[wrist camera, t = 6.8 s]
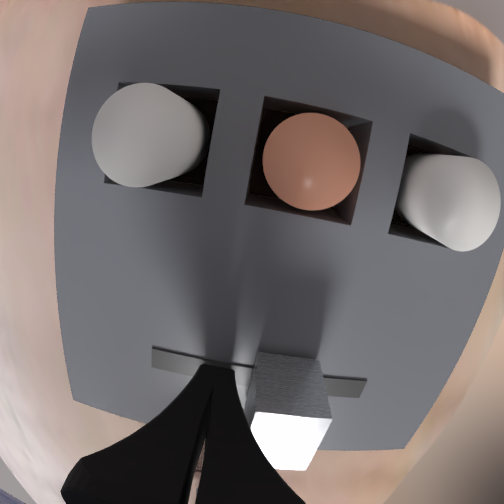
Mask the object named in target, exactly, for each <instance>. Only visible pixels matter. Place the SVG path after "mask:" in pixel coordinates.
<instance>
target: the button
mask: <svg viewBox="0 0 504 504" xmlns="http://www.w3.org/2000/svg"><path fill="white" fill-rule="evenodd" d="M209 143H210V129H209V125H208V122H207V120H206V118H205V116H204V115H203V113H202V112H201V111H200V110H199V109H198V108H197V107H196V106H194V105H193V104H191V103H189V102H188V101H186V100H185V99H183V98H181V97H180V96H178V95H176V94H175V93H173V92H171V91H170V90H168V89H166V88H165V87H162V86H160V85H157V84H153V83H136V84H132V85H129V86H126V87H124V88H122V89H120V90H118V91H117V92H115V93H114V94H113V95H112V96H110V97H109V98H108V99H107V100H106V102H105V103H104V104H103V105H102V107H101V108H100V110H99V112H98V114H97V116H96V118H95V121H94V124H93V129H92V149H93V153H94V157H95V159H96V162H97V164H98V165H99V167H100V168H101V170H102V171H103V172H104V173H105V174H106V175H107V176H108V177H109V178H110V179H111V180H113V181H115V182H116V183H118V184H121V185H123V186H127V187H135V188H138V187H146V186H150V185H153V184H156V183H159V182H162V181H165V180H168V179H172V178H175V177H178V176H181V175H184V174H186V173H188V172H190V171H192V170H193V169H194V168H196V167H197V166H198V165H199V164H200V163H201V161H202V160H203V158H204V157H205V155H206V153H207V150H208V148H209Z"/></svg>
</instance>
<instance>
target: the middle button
mask: <svg viewBox="0 0 504 504" xmlns="http://www.w3.org/2000/svg"><path fill="white" fill-rule="evenodd" d="M263 169H264V173H265V177H266V179H267V182H268V184H269V185H270V187H271V189H272V190H273V191H274V192H275V194H276V195H277V196H278V197H279V198H280V199H282V200H283V201H284V202H286V203H288V204H289V205H291V206H294V207H296V208H299V209H303V210H322V209H326V208H329V207H332V206H334V205H336V204H337V203H339V202H341V201H342V200H343V199H344V198H345V197H346V196H347V195H348V194H349V193H350V192H351V191H352V189H353V188H354V186H355V184H356V182H357V179H358V176H359V173H360V153H359V149H358V146H357V143H356V141H355V139H354V137H353V136H352V134H351V133H350V132H349V130H348V129H347V128H346V127H345V126H344V125H343V124H341V123H340V122H339V121H337V120H335V119H334V118H332V117H329V116H327V115H323V114H319V113H302V114H298V115H295V116H292V117H290V118H288V119H286V120H284V121H283V122H282V123H280V124H279V125H278V126H277V127H276V128H275V129H274V130H273V132H272V133H271V134H270V136H269V138H268V140H267V142H266V144H265V148H264V152H263Z"/></svg>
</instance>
